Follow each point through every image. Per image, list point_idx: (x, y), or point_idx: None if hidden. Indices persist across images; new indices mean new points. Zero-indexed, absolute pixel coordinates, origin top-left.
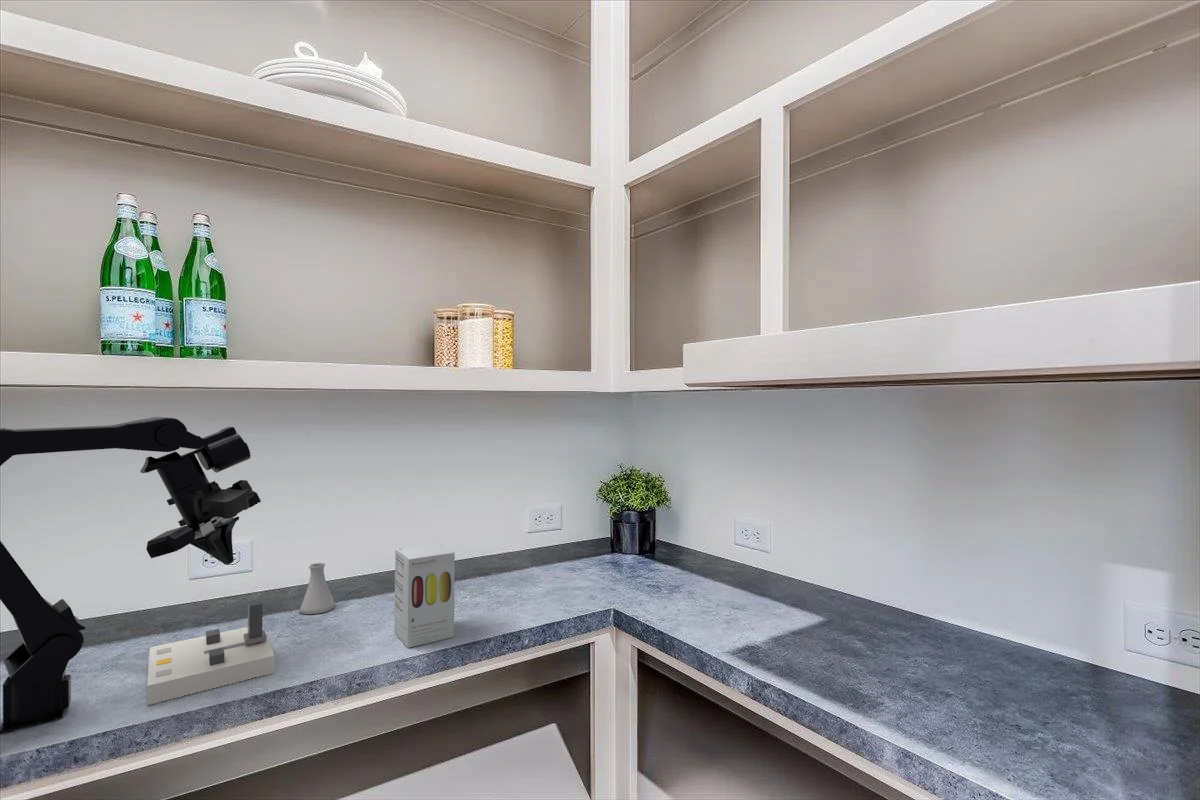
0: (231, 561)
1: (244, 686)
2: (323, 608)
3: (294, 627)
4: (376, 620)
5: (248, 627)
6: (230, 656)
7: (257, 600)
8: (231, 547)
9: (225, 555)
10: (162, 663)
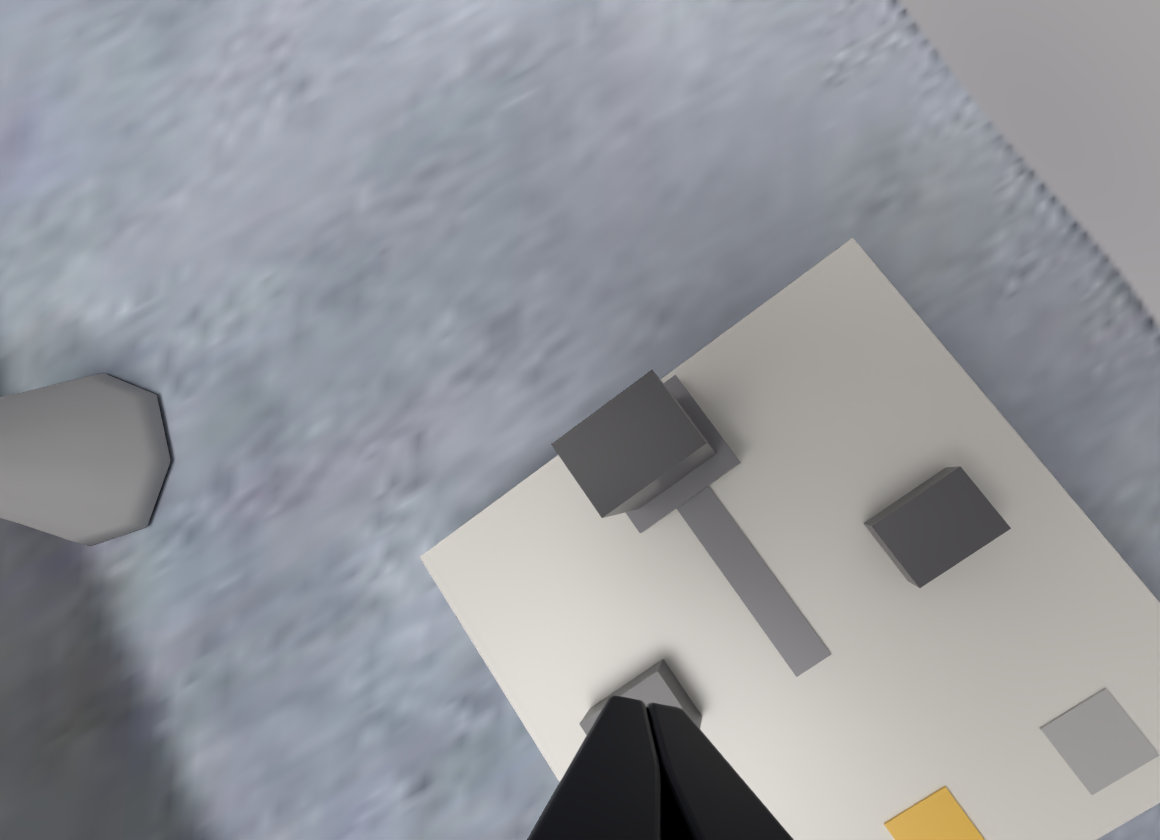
0: (645, 709)
1: (983, 332)
2: (134, 396)
3: (316, 457)
4: (260, 87)
5: (670, 482)
6: (865, 479)
7: (575, 453)
8: (576, 819)
9: (750, 810)
10: (972, 827)
